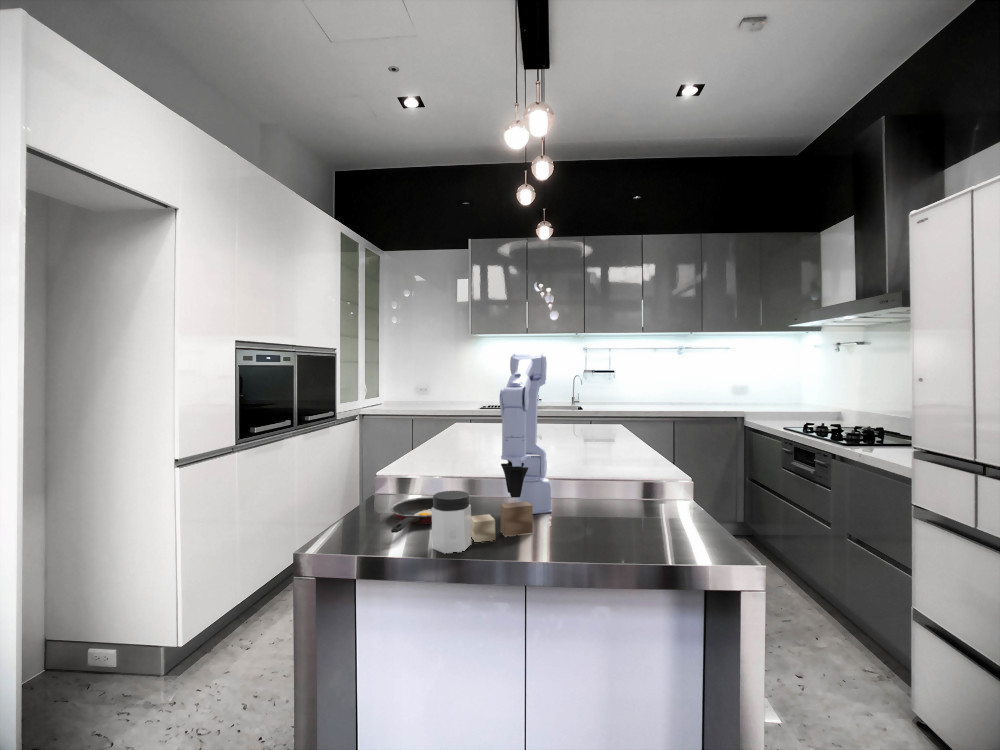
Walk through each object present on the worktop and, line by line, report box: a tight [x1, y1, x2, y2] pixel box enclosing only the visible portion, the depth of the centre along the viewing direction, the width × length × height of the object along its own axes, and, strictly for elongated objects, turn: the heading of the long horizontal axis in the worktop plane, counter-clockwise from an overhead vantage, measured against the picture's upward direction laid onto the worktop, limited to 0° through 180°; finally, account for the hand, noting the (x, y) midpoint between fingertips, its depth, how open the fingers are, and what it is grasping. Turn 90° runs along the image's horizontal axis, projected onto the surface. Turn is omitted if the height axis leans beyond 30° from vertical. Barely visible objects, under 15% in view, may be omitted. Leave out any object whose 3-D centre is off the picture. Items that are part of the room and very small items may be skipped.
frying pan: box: [389, 496, 433, 534], centre depth 139 cm, size 19×32×4 cm, turn 169°
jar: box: [431, 490, 472, 554], centre depth 121 cm, size 9×8×12 cm
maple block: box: [471, 514, 496, 543], centre depth 127 cm, size 5×5×5 cm
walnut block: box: [499, 501, 534, 538], centre depth 131 cm, size 7×4×7 cm, turn 106°
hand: (513, 494), depth 126 cm, fingers open, 7 cm apart
